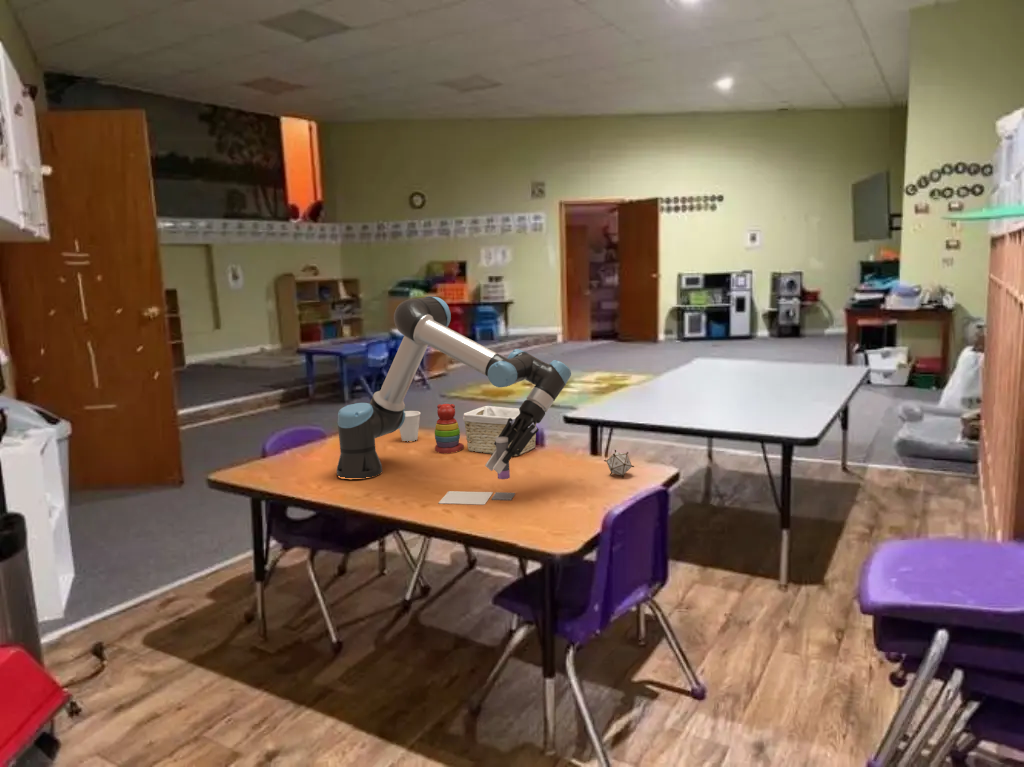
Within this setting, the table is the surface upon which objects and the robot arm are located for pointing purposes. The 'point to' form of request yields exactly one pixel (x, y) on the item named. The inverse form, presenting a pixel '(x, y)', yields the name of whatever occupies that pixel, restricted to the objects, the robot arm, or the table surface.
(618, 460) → the game die
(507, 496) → the rest pad
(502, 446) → the marker
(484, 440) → the storage basket
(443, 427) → the stacking bear
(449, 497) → the paper
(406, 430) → the cup
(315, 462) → the table surface
